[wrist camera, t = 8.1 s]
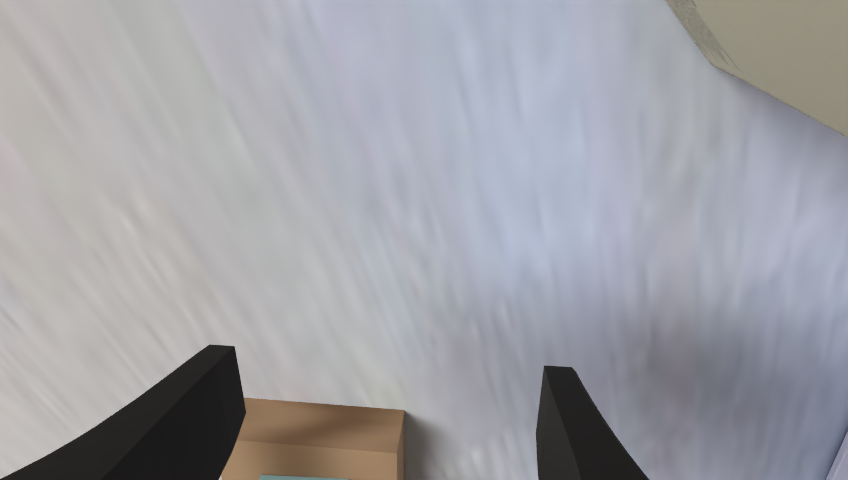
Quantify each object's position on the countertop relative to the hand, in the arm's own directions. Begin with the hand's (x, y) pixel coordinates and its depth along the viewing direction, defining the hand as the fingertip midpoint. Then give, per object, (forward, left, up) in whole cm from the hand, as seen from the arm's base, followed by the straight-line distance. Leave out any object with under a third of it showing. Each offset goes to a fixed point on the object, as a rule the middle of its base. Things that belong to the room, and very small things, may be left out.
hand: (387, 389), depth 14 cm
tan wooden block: (+5, +14, -10) cm, 18 cm away
